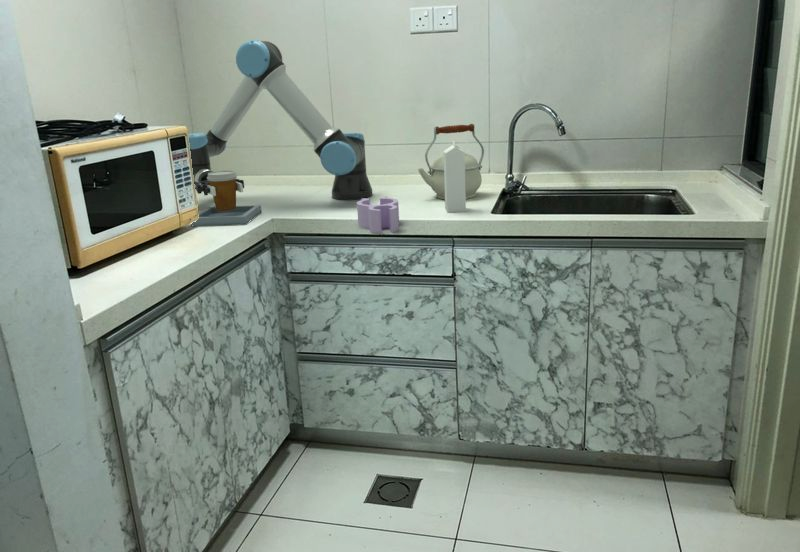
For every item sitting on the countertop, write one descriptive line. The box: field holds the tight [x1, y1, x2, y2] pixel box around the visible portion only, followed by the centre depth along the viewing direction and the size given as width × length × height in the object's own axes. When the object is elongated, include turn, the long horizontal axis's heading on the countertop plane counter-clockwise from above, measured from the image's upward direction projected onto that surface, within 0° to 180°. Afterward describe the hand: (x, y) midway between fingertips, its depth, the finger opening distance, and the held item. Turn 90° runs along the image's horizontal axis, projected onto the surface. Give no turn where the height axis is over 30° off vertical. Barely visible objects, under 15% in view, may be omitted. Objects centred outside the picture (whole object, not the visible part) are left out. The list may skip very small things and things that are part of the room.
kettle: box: [417, 123, 485, 201], centre depth 231 cm, size 25×18×25 cm
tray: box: [190, 204, 262, 227], centre depth 216 cm, size 18×18×3 cm
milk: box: [443, 140, 467, 213], centre depth 209 cm, size 6×6×22 cm
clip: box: [356, 196, 400, 235], centre depth 196 cm, size 20×12×7 cm, turn 12°
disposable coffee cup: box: [207, 170, 238, 211], centre depth 214 cm, size 10×10×12 cm
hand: (228, 189), depth 210 cm, fingers closed on disposable coffee cup, 8 cm apart
